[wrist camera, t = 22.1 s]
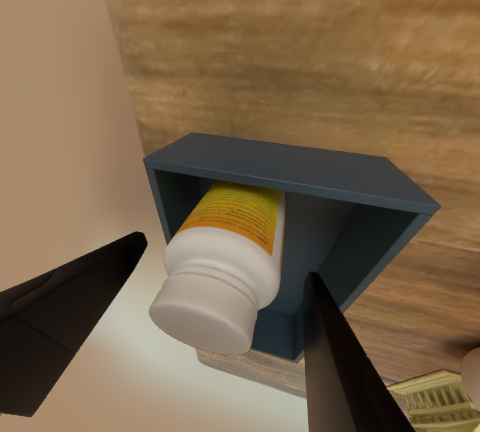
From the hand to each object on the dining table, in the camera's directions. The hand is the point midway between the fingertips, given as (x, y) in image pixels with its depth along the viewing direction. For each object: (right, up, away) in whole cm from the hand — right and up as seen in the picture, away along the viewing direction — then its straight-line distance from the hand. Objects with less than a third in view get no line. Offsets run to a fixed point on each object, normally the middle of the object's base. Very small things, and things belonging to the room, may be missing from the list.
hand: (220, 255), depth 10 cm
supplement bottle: (+2, +4, +5) cm, 7 cm away
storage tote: (+3, -2, +9) cm, 10 cm away
